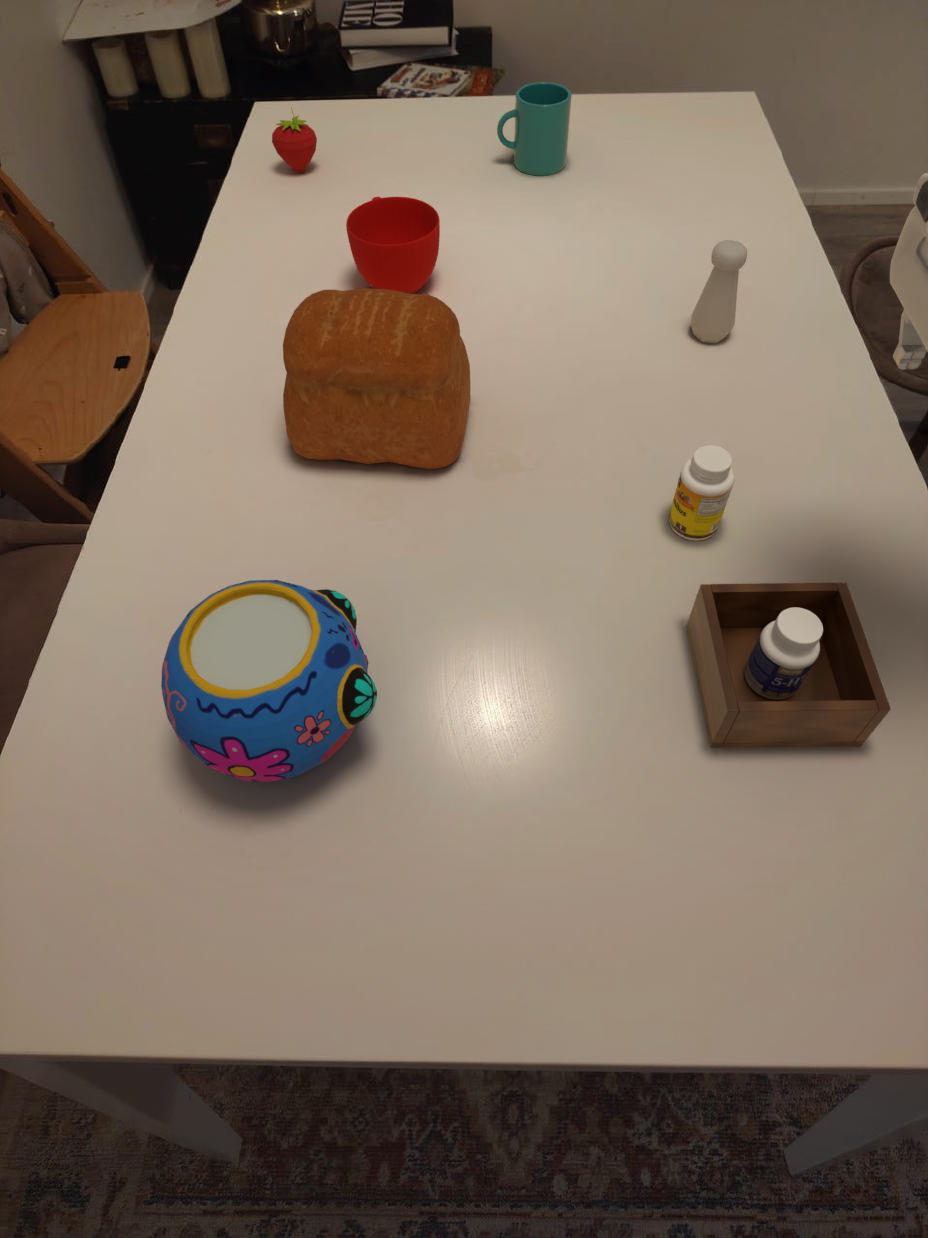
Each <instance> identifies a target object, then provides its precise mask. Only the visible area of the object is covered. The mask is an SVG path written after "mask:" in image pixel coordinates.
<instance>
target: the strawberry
mask: <svg viewBox="0 0 928 1238" xmlns="http://www.w3.org/2000/svg"><path fill="white" fill-rule="evenodd" d="M290 109H291V114H292V115H293V117H292V118H291V120H284V119H281V120H279V123H276V124H275V126H277V127H275V129H274V130H273V132H272V133H271V143H272V146H273V147H274V149H275V151H276V154H277V155H278V156H279V157H280V158H281V159H282V160H283V161H284V162H285V164H287V165H288V166H289V167H290V168H291V169H292V170H293V171H294V172H295V173H297V174H303V173H304V172H305V171H306V169H307V167H309V165H310V163H311V162H312V159H313V157H314V155H315V153H316V151H317V142H318V139H317V135H316V132H315V130H314V129H313V128H311V127H310V126H309V125H308V124H307V123H306V122H307V120H304V119H299V117H300V115H296V116H295V114H294V111H293V108H292V107H290Z"/></svg>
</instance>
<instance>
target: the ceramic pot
mask: <svg viewBox="0 0 928 1238" xmlns="http://www.w3.org/2000/svg"><path fill="white" fill-rule="evenodd" d="M357 619H358V618H357V613H356V609H355V607H354V605H353V603H352V602H351V601H350V600H349V598H347V597H346V596H345V595H344V594H343V593H341V592H339V591H336V590H333V589H327V588H325V589H311V588H310V589H309V588H307V587H305V586H302V585H299V584H296V583H291V582H286V581H282V580H278V579H258V580H257V579H256V580H254V579H253V580H251V579H250V580H246V581H243V582H238V583H235V584H230V585H227V586H226V587H223V588H221V589H219V590H217V591H214V592H213V593H211V594H210V595H208V596H207V597H205V598H203V600H202V601H200V602H199V603H198V604H196V605H195V606H194V607H193V608H191V609H190V610H189V611H188V613H187V614H186V615H185V617H184V619H183V620H182V621H181V623H180V624H179V626H178V627H177V628H176V629H175V631H174V633H173V634H172V635H171V637H170V639H169V642H168V645H167V647H166V648H167V649H166V651H165V654H164V657H163V661H162V664H161V665H162V667H161V685H160V686H161V694H162V695H161V696H162V699H163V704H164V709H165V713H166V717H167V719H168V722H169V724H170V726H171V727H172V729H173V731H174V733H175V735H176V736H177V738H178V739H177V740H179V742H180V744H181V745H182V746H184V747H185V748H186V749H187V750H188V751H190V753H192V754H193V756H196V757H197V758H198V759H199V760H200V761H202V762H203V763H204V764H205V765H206V766H207V767H208V768H210V769H211V770H213V771H216V772H219V773H221V774H224V775H227V776H230V777H233V778H236V779H238V780H241V781H246V782H247V781H248V782H261V783H262V782H263V783H269V782H275V781H281V780H286V779H292V778H297V777H298V776H300V775H302V774H303V773H305V772H307V771H309V770H312V769H313V768H315V767H318V766H319V765H321V764H323V763H326V762H327V761H328V760H329V759H330V758H331V757H332V756H333V755H335V753H336V752H337V751H339V749H341V747H342V746H343V745H345V744H346V742H347V741H348V739H349V738H350V737H351V735H352V733H353V732H354V730H355V729H356V727H357V725H358V723H361V722H362V721H363V720H365V719H366V718H367V717H368V716H369V715H371V713H372V711H373V710H374V708H375V706H376V702H377V699H378V690H377V687H376V684H375V683H376V682H374V680H373V679H372V677H371V676H370V675H369V674H368V668H369V659H368V656H367V655H366V653H365V652H364V649H363V647H362V645H361V642H360V639H359V637H358V635H357V621H358V620H357Z"/></svg>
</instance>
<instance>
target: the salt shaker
mask: <svg viewBox="0 0 928 1238" xmlns="http://www.w3.org/2000/svg"><path fill="white" fill-rule="evenodd" d="M710 259H711V260H710V261H711V264H712V266H713V268H712V270H711V272H710V274H709V276H708V278H707V281H706V283H705V285H704V287H703V289H702V292H701V293H700V295H699V298H698V300H697V303H696V304H695V307H694V309H693V310H692V312H691V315H690V316H691V317H690V326H691V331H692V335H693V336H694V337H695V338H696V339H697V340H699V341H700V342H701V343H708V344H717V343H719V342H721V341H722V340H724V339H725V338H726V337H727V336H728V334H730V332H732V330H733V328H734V327H735V325H736V324H735V323H736V311H737V298H738V286H739V274H740V272H739V271H740V269H742V268H743V267H744V265H746V262H747V259H748V249H747V247H746V246H745V245H744V243H742V242H740V241H738V240H733V239H725V240H721V241H719V242H717V244H715V246H713V249H712V251H711V258H710Z"/></svg>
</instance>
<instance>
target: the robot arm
mask: <svg viewBox="0 0 928 1238" xmlns="http://www.w3.org/2000/svg"><path fill="white" fill-rule="evenodd" d="M912 202H913V205H914V206H913V208H912V209H911V210H910V212H909V214H908V216H907V217H906V220H905V222H904V225H903V227H902V230H901V232H900V235H899V238H898V240H897V243H896V246H895V248H894V251H893V255H892V257H891V261H890V266H889V284H890V286H891V287H892V289H893V291H894V293H895V295H896V297H897V298H898V300H899V302H900V304H901V306H902V308H903V311H902V312H901V315H900V324H899V325H900V326H899V336H898V343H897V344H896V345H897V346H896V348H895V350H894V351H893V354H892V358H893V360H894V362H895V364H896V366H897V368H898V369H899V370H902V371H905V370H907V369H908V370H916V369H918V368H919V367H921V365H922V360H923V359H924V358H925V357H926V354H927V353H928V172H926V173H923V174H922V175H921V176H920V177H919V178H918V180H917V183H916V186H915V188H914V192H913V195H912Z"/></svg>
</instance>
